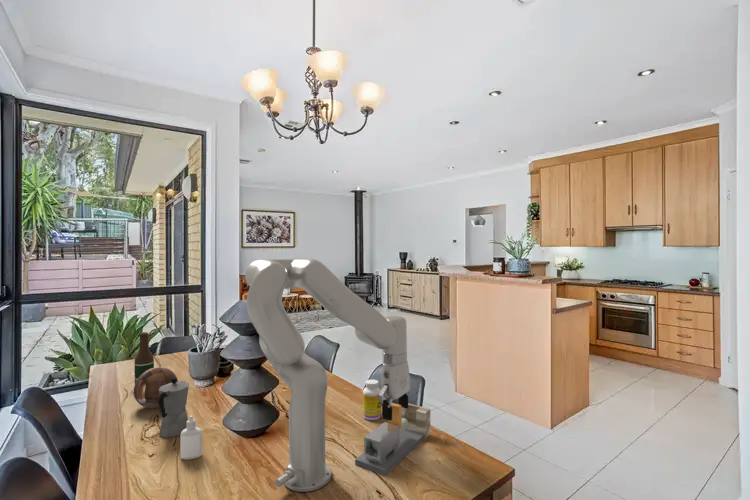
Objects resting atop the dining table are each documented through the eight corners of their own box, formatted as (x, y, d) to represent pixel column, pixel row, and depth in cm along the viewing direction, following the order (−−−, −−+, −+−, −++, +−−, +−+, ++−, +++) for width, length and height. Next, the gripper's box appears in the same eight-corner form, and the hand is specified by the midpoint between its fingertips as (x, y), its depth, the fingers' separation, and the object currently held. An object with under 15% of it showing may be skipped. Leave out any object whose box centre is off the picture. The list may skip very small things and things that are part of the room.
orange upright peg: (382, 452, 108) (382, 418, 108) (370, 448, 110) (370, 415, 110) (409, 429, 121) (409, 399, 121) (398, 426, 124) (398, 396, 123)
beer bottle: (158, 386, 171) (157, 332, 171) (139, 391, 165) (139, 335, 164) (148, 382, 175) (148, 330, 175) (130, 388, 169) (130, 333, 169)
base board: (385, 476, 103) (385, 470, 103) (355, 464, 109) (355, 459, 109) (426, 437, 124) (426, 432, 124) (399, 429, 130) (399, 425, 130)
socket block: (425, 439, 123) (425, 413, 123) (395, 430, 129) (395, 405, 129) (430, 434, 126) (430, 408, 126) (401, 426, 132) (401, 401, 132)
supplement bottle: (379, 421, 136) (379, 385, 135) (361, 420, 137) (360, 384, 137) (382, 413, 142) (382, 379, 142) (365, 412, 143) (365, 377, 143)
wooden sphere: (166, 396, 159) (165, 360, 159) (186, 404, 151) (185, 366, 151) (126, 408, 147) (126, 369, 147) (145, 418, 139) (145, 377, 138)
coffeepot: (171, 422, 136) (170, 371, 136) (197, 422, 136) (197, 371, 135) (144, 444, 120) (144, 387, 120) (174, 444, 120) (174, 387, 120)
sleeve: (379, 465, 106) (379, 442, 106) (364, 460, 108) (364, 436, 108) (399, 448, 115) (399, 426, 115) (384, 443, 118) (384, 422, 118)
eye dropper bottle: (193, 462, 110) (193, 420, 110) (177, 459, 112) (177, 418, 112) (204, 454, 115) (204, 414, 115) (189, 451, 116) (188, 411, 116)
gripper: (390, 367, 108) (391, 427, 108) (418, 352, 122) (419, 405, 123) (368, 363, 112) (369, 421, 112) (398, 349, 127) (399, 400, 127)
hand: (395, 413), depth 118 cm, fingers open, 9 cm apart
